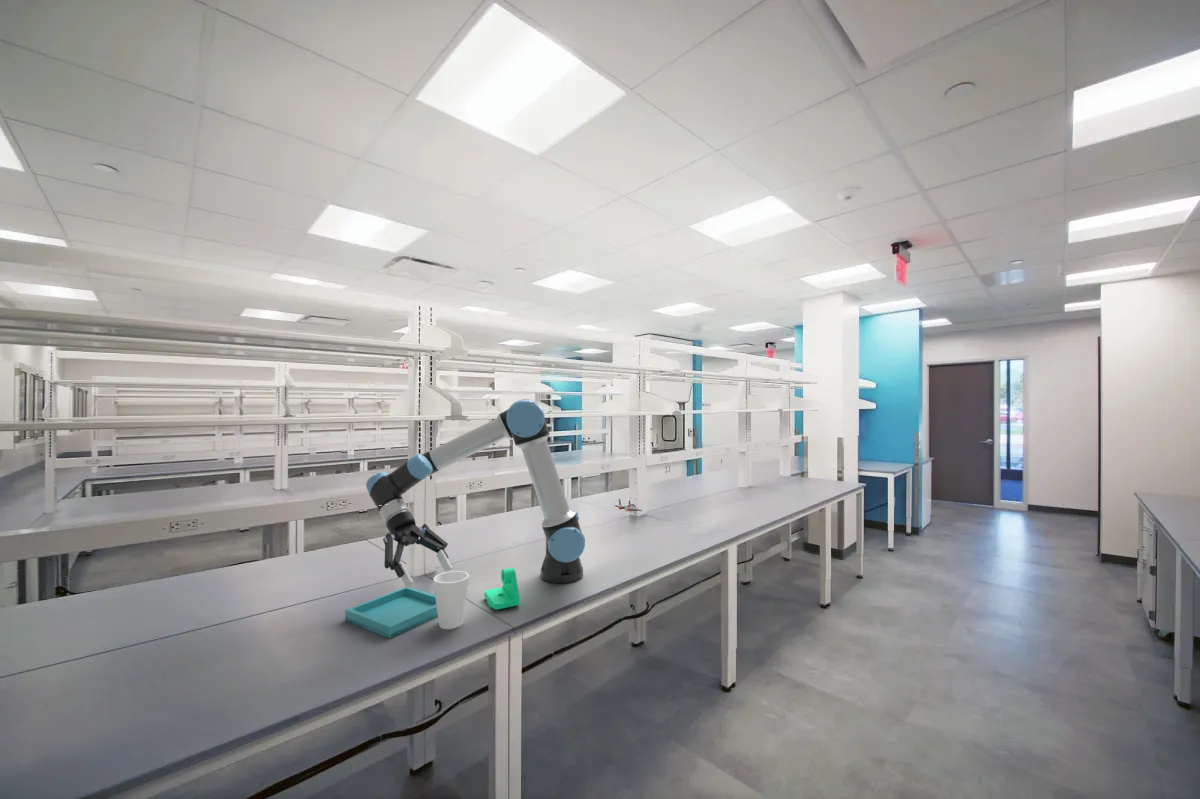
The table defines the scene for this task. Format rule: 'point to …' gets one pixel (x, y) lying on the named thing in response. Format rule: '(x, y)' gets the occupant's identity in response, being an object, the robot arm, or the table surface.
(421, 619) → the teal tray
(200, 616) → the table surface
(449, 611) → the foam cup
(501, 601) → the camera mount
